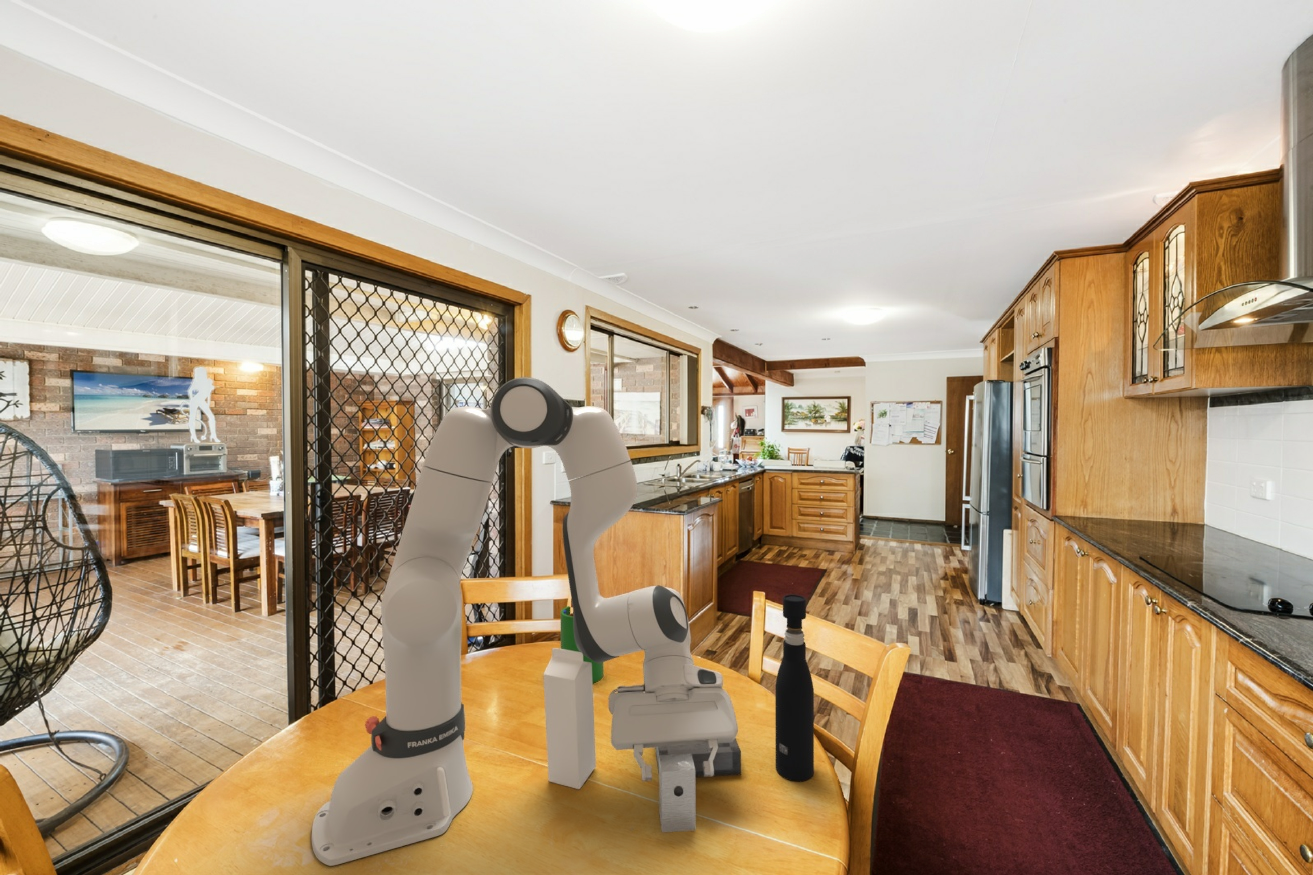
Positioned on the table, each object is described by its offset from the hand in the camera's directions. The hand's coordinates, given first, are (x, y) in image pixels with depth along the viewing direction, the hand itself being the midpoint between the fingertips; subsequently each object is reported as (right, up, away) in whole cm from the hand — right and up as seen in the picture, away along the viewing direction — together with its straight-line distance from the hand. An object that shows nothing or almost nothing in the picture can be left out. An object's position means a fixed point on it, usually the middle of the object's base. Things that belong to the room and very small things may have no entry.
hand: (678, 778), depth 82 cm
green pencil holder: (-21, -6, +47) cm, 52 cm away
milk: (-18, -6, +11) cm, 21 cm away
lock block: (0, -6, 0) cm, 6 cm away
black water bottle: (+21, -6, +12) cm, 25 cm away
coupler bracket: (+4, -6, +17) cm, 18 cm away
